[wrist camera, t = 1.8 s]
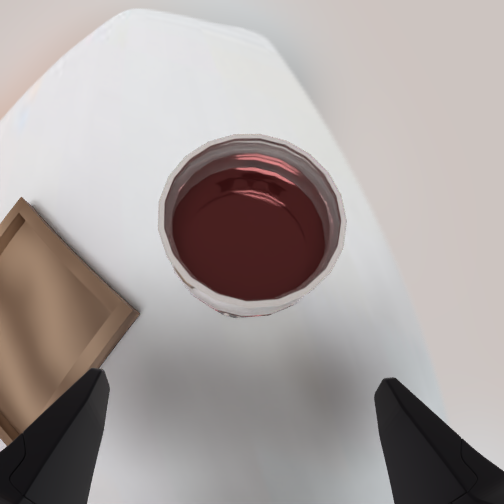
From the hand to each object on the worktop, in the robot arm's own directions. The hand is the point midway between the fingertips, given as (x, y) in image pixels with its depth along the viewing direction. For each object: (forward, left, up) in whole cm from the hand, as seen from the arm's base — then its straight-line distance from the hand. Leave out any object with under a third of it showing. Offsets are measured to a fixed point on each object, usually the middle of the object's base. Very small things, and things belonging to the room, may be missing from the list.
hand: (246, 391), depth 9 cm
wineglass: (+5, +3, -12) cm, 14 cm away
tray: (-9, +14, -12) cm, 21 cm away
